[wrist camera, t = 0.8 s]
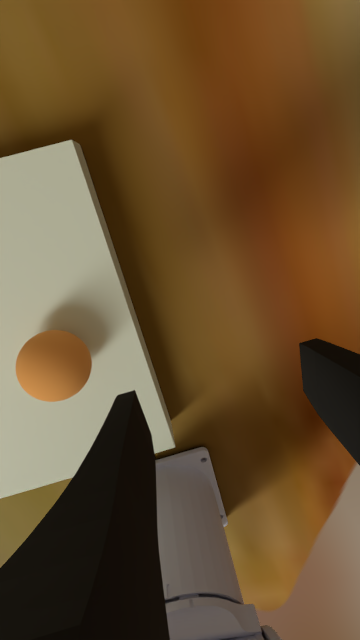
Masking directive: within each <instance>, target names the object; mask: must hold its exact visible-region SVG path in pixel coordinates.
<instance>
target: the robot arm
mask: <svg viewBox="0 0 360 640" xmlns="http://www.w3.org/2000/svg"><path fill="white" fill-rule="evenodd" d="M299 346H300V357H301V369H302V380H303V391H304V392H305V394H306V396H307V397H308V399H309V401H310V402H311V404H312V406H313V407H314V409H315V410H316V412H317V413H318V415H319V416H320V417H321V419H322V420H323V421H324V422H325V424H326V425H327V426H328V427H329V429H330V430H331V431H332V432H333V434H334V435H335V436H336V437H337V438H338V440H339V441H340V442H341V443H342V445H343V446H344V447H345V448H346V449H347V451H348V452H349V453H350V454H351V455H352V457H353V458H354V459H355V460H356V462H357V463H358V464H359V465H360V354H357V353H355V352H352V351H350V350H347V349H344V348H342V347H339V346H337V345H334V344H331V343H329V342H326V341H323V340H320V339H317V338H316V339H312V340H309V341H305V342H302V343H299ZM201 458H203V459H201ZM227 524H228V521H227V517H226V514H225V510H224V507H223V503H222V499H221V496H220V492H219V489H218V485H217V481H216V478H215V474H214V471H213V467H212V463H211V460H210V456H209V453H208V450H207V448H205V447H199V448H196V449H193V450H189V451H186V452H182V453H179V454H175V455H172V456H169V457H165V458H162V459H158V460H155V455H154V448H153V441H152V434H151V432H150V429H149V426H148V424H147V421H146V418H145V416H144V413H143V410H142V408H141V405H140V402H139V400H138V397H137V394H136V391H135V390H133V391H130V392H126V393H123V394H119V395H117V397H116V398H115V400H114V402H113V404H112V407H111V409H110V411H109V413H108V415H107V417H106V419H105V421H104V423H103V425H102V427H101V429H100V431H99V433H98V435H97V437H96V439H95V441H94V443H93V445H92V446H91V448H90V450H89V452H88V453H87V455H86V457H85V459H84V460H83V462H82V464H81V465H80V467H79V469H78V470H77V472H76V474H75V475H74V477H73V478H72V480H71V481H70V483H69V484H68V486H67V487H66V489H65V490H64V492H63V493H62V494H61V496H60V497H59V499H58V500H57V501H56V503H55V504H54V505H53V507H52V508H51V509H50V510H49V512H48V513H47V514H46V515H45V517H44V518H43V519H42V520H41V522H40V523H39V524H38V525H37V527H36V528H35V529H34V530H33V532H32V533H31V534H30V535H29V537H28V538H27V539H26V540H25V541H24V542H23V544H22V545H21V546H20V547H19V548H18V549H17V550H16V552H15V553H14V554H13V555H12V556H11V557H10V558H9V559H8V560H7V562H6V563H5V564H4V565H3V566H2V567H1V568H0V640H282V639H281V638H280V637H279V635H278V634H277V632H275V630H274V629H272V627H270V626H267V625H265V626H260V624H259V621H258V617H257V613H256V610H255V606H254V605H253V604H244V602H243V598H242V595H241V591H240V587H239V583H238V580H237V576H236V572H235V568H234V565H233V561H232V557H231V553H230V550H229V546H228V542H227V538H226V535H225V531H224V527H225V526H226V525H227Z"/></svg>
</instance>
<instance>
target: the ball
mask: <svg viewBox="0 0 360 640" xmlns="http://www.w3.org/2000/svg"><path fill="white" fill-rule="evenodd" d="M91 368H92V360H91V355H90V352H89V350H88V348H87V346H86V345H85V343H84V342H83V341H82V340H81V339H80V338H78V337H77V336H75V335H74V334H72V333H69V332H66V331H62V330H49V331H45V332H42V333H39V334H37V335H35V336H33V337H32V338H31V339H29V340H28V341H27V342H26V343H25V344H24V346H23V347H22V348H21V350H20V352H19V354H18V356H17V360H16V376H17V379H18V381H19V383H20V385H21V387H22V388H23V389H24V390H25V391H26V392H27V393H28V394H29V395H31V396H32V397H34V398H36V399H38V400H42V401H47V402H56V401H62V400H65V399H68V398H70V397H72V396H73V395H75V394H77V393H78V392H79V391H80V390H81V389H82V388H83V387H84V385H85V384H86V382H87V381H88V379H89V376H90V373H91Z"/></svg>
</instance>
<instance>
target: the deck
mask: <svg viewBox="0 0 360 640" xmlns="http://www.w3.org/2000/svg"><path fill="white" fill-rule="evenodd" d="M49 330H62V331H66V332H69V333H72V334H74V335H75V336H77V337H78V338H80V339H81V340H82V341H83V342H84V343H85V345H86V346H87V348H88V350H89V352H90V355H91V360H92V368H91V373H90V376H89V379H88V381H87V382H86V384H85V385H84V387H83V388H82V389H81V390H80V391H79V392H78V393H77V394H75V395H73V396H72V397H70V398H68V399H65V400H62V401H56V402H47V401H42V400H38V399H36V398H34V397H32V396H31V395H29V394H28V393H27V392H26V391H25V390H24V389H23V388H22V387H21V385H20V383H19V381H18V379H17V376H16V360H17V356H18V354H19V352H20V350H21V348H22V347H23V346H24V344H25V343H26V342H27V341H28V340H29V339H31V338H32V337H33V336H35V335H37V334H39V333H42V332H45V331H49ZM133 390H135V391H136V394H137V397H138V400H139V402H140V405H141V408H142V410H143V413H144V416H145V418H146V421H147V424H148V426H149V429H150V432H151V434H152V441H153V448H154V454H155V453H158V452H161V451H165V450H168V449H172V448H175V442H174V436H173V430H172V424H171V420H170V417H169V414H168V411H167V408H166V405H165V401H164V398H163V395H162V392H161V389H160V386H159V383H158V380H157V377H156V374H155V371H154V368H153V365H152V362H151V359H150V356H149V353H148V350H147V347H146V344H145V341H144V338H143V334H142V331H141V328H140V325H139V322H138V319H137V316H136V313H135V310H134V307H133V304H132V301H131V298H130V295H129V292H128V289H127V286H126V283H125V280H124V277H123V274H122V271H121V268H120V264H119V261H118V258H117V255H116V252H115V249H114V246H113V243H112V240H111V237H110V234H109V231H108V228H107V225H106V222H105V219H104V216H103V213H102V210H101V207H100V204H99V201H98V197H97V194H96V191H95V188H94V185H93V182H92V179H91V176H90V173H89V170H88V167H87V164H86V161H85V158H84V155H83V152H82V149H81V146H80V144H78V143H76V142H75V141H73V140H68V141H64V142H61V143H57V144H53V145H49V146H45V147H41V148H37V149H34V150H30V151H26V152H22V153H18V154H14V155H11V156H7V157H3V158H0V498H4V497H7V496H11V495H14V494H17V493H21V492H24V491H28V490H31V489H35V488H38V487H41V486H45V485H48V484H52V483H55V482H59V481H62V480H65V479H69V478H72V477H74V475H75V474H76V472H77V470H78V469H79V467H80V465H81V464H82V462H83V460H84V459H85V457H86V455H87V453H88V452H89V450H90V448H91V446H92V445H93V443H94V441H95V439H96V437H97V435H98V433H99V431H100V429H101V427H102V425H103V423H104V421H105V419H106V417H107V415H108V413H109V411H110V409H111V407H112V404H113V402H114V400H115V398H116V397H117V395H119V394H123V393H126V392H130V391H133Z"/></svg>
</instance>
